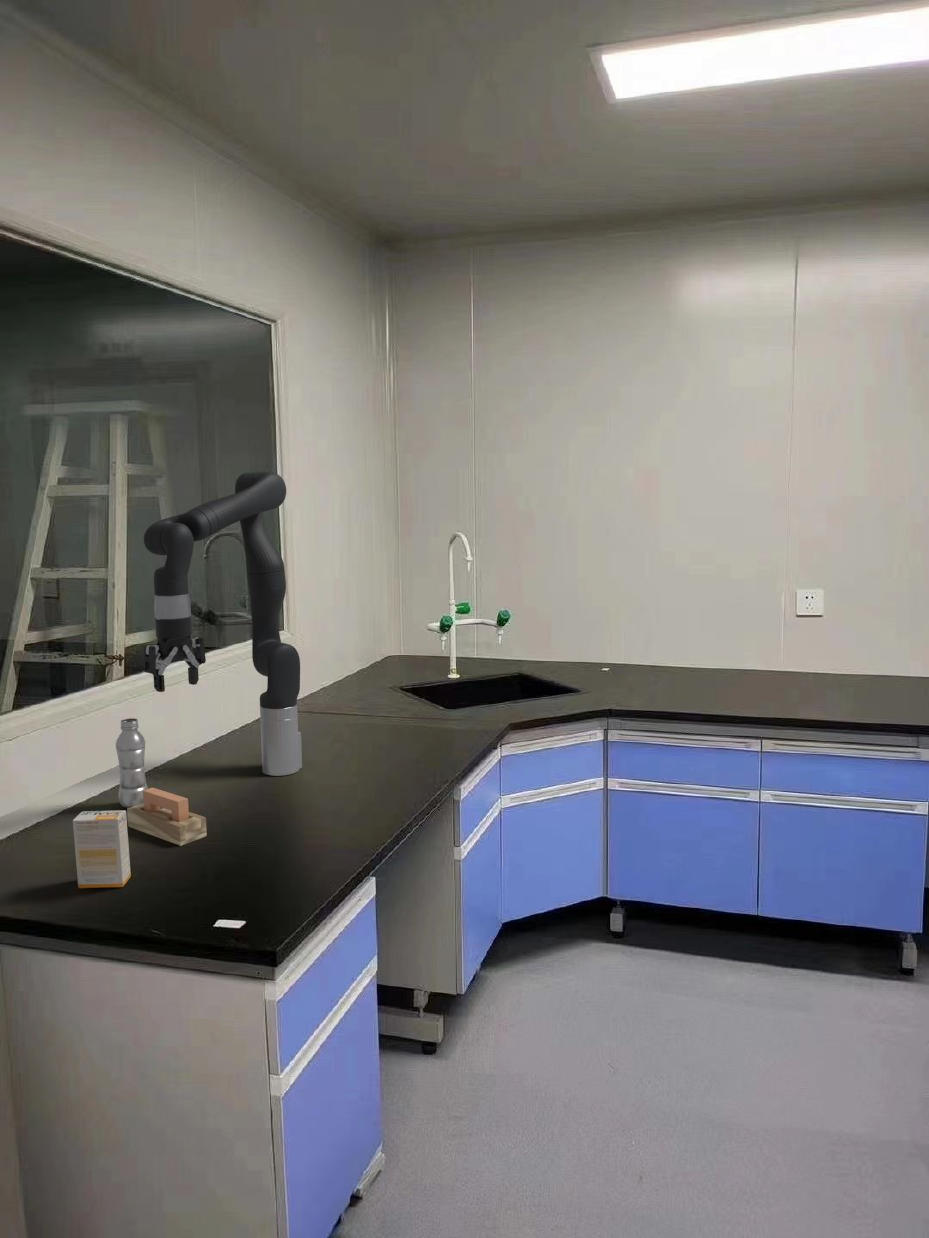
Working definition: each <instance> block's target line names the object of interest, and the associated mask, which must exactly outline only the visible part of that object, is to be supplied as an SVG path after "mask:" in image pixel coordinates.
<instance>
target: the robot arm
mask: <svg viewBox="0 0 929 1238" xmlns="http://www.w3.org/2000/svg"><path fill="white" fill-rule="evenodd" d="M286 497H287V485H286V483H285V480H284V478H283V477H282V476H281V475H279V474H277V473H276V472H273V471H249V472H243V473H241V474H239V476H238V477H237V479H236V481H235V486H234V493H233V494H230V495H226V496H223V497H218V498H215V499H212V500H209V501H206V502H203V503H201V504H199V505H198V506H195V507H193V508H191V509H189V510H187V511H186V512H184V513H181V514H178V515H177V514H176V515H173V516H171V517H167V518H164V519H161V520H158V521H155V522H154V523H152V524H151V525H150V526H149V527H148V528H146V530H145V532H144V535H143V545H144V547H145V548H146V550H147V551H148V552H150V553H152V554H154V555H156V556H166V559H165V564H164V566H161V567H158V568H156V569H155V571H154V572H153V586H154V588H153V589H154V603H153V609H154V610H153V611H154V623H155V624H154V626H155V628H154V629H155V636H156V638H157V639H156V640H157V642H156V644H155V645H150V644H149V645H148V644H146V645H144V646H143V671H144V672H145V674H146V673H147V674H151V675H152V676H153V677H152V679H153V688H154V689H155V691H156V692H158V693H165V691H166V689H165V688H166V687H165V675H164V672H165V671H166V669H167V667H169V666H170V664H171V663H175V662H177V661H184V662H185V664H187V666H188V668H187V675H188V677H187V678H188V684H189V685H193V686H195V685H198V682H199V680H200V679H199V675H200V674H199V667H200V666H201V665H202V664H203V665H204V664H206V649H205V640H204V638H203V637H199V636H193V637H192V633H193V630H192V629H193V628H192V625H193V624H192V610H191V600H190V594H189V577H188V576H189V575H188V574H189V570H190V567H191V562H192V561H191V560H192V557H193V553H194V552H193V551H194V542H199V541H202V540H203V541H204V540H205V539H207V538H209V537H211V536H212V535H215V534H216V533H218V532H219V531H222V530H224V529H226V528H228V527H229V526H231V525H234V524H236V523H238V522H240V529H241V534H242V540H243V548H244V555H245V567H246V568H245V569H246V578H247V580H246V581H247V586H248V587H247V589H248V593H249V604H250V605H249V606H250V615H251V629H252V631H251V633H252V634H251V639H252V640H251V644H252V645H251V646H252V647H251V652H252V653H251V654H252V657H251V658H252V664H253V666H254V669H255V670H256V672H258V674H260V675H262V676H264V677H267V682H266V683H267V684H266V685H267V689H266V691H264V692H262V693H261V694H260V695H259V717H260V739H261V740H260V741H261V743H260V744H261V745H260V746H261V767H262V769H261V770H262V772H261V773H263V774H264V775H268V776H275V777H277V776H278V777H279V776H288V775H293V774H295V773H298V771H299V770H300V769H302V768H303V757H302V755H303V753H302V752H303V750H302V732H301V731H299V724H298V723H299V722H298V721H299V720H298V716H299V715H298V697H299V694H300V690H301V659H300V655H299V652H298V651H297V649H296V648H295V646H293V645H292V644H290V643H285V642H282V639H281V633H280V624H279V620H280V618H279V617H280V614H281V610H282V606H283V603H284V600H285V597H286V593H287V580H286V578H287V577H286V571H285V570H286V569H285V563H284V560H283V557H282V555H281V554H280V552H279V549H278V548H277V547H276V545H275V544H274V542H273V541H272V538H271V537H270V535H269V534H268V531H267V528H266V524H265V518H264V512H268V511H271V510H274V509H277V508H279V507H280V506H281V505H283V503H284V501H285V499H286ZM191 637H192V638H191ZM191 648H193V652H192V651H191ZM156 656H157V657H156Z"/></svg>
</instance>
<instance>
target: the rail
mask: <svg viewBox="0 0 929 1238" xmlns="http://www.w3.org/2000/svg"><path fill="white" fill-rule="evenodd" d="M126 810H127V811H126V815H127V828H128V827H129V828H131V829H134V830H136V831H140V832H142V833H144V834H147V835H150V836H153V837H155V838H159V839H162V840H164V841H166V842H170V843H172V844H175V845H178V846H180V847H182V846H183V845H187V844H189V843H192V842H194V841H197V840H200V839H203V838H205V837H207V818H206V816H202V815H200V814H196V813H194V812H191V811H189V819H187V820H184V821H181V822H175V821H172V811H171V810H168V809H165V808H162V807H160V809H159V810H156V811H153V812H150V813H149V812H146V811H144V803H143V804H140V805H136V806H133V807H130V808H126Z"/></svg>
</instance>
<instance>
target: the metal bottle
mask: <svg viewBox="0 0 929 1238" xmlns="http://www.w3.org/2000/svg"><path fill="white" fill-rule="evenodd" d="M120 730H121V732H120V734H119V735H118V737H117V739H116V740H115V749H116V754H117V760H118V766H119V775H120V776H119V788H118V801H119V804H120V805H121V806H122V807H123V808H126V809H127V808H130V807H133V806H136V805H140V804H143V790H146V789H149V787H148V784H147V780H146V773H145V754H146V740H145V737H144V735H143V734H142V733H141V732H140V731H139V722H138V718H134V717H133V718H132V717H131V718H130V717H129V718H124V719H122V720H120Z"/></svg>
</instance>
